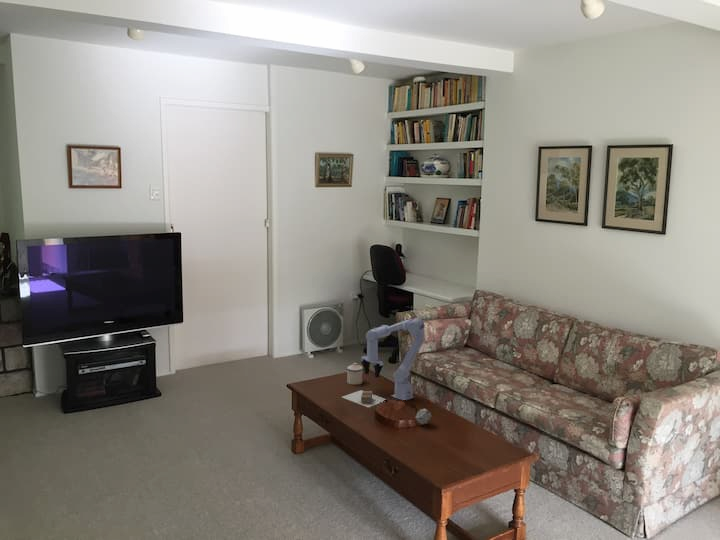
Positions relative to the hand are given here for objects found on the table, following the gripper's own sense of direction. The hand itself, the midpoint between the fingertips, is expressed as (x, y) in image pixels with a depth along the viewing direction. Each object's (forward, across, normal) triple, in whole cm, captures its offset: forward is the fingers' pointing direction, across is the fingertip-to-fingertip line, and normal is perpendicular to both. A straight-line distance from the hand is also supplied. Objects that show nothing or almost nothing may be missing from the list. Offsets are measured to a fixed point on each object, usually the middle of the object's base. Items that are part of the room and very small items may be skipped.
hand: (372, 375), depth 338 cm
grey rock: (+10, -47, +14) cm, 50 cm away
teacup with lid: (+10, +18, -4) cm, 21 cm away
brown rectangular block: (+9, -8, +13) cm, 18 cm away
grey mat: (+9, -5, +11) cm, 15 cm away
